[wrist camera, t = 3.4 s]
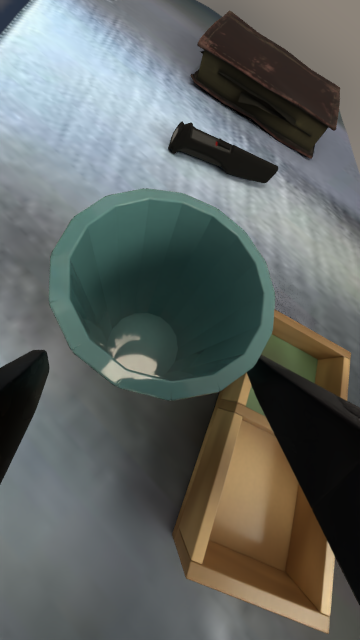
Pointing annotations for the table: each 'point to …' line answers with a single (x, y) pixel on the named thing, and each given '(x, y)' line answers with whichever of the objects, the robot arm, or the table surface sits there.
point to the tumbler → (161, 294)
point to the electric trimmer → (221, 154)
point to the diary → (266, 84)
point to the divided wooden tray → (261, 495)
